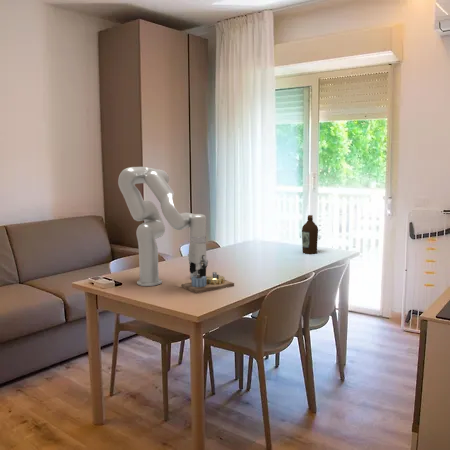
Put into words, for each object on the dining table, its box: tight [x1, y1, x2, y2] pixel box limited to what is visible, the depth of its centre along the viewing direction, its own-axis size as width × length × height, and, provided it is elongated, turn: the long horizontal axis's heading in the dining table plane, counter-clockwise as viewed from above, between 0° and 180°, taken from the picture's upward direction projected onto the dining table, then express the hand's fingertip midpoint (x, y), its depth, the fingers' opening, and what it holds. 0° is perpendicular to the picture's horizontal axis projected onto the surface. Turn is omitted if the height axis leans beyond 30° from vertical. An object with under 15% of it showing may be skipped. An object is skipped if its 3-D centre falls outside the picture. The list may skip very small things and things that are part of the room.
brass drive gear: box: [206, 271, 226, 285], centre depth 243 cm, size 10×10×5 cm
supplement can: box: [189, 264, 203, 279], centre depth 258 cm, size 8×8×15 cm
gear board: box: [181, 275, 235, 294], centre depth 241 cm, size 14×22×6 cm, turn 124°
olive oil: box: [301, 214, 319, 255], centre depth 321 cm, size 11×11×25 cm
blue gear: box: [191, 275, 207, 287], centre depth 238 cm, size 7×7×4 cm
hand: (197, 274), depth 238 cm, fingers open, 9 cm apart
